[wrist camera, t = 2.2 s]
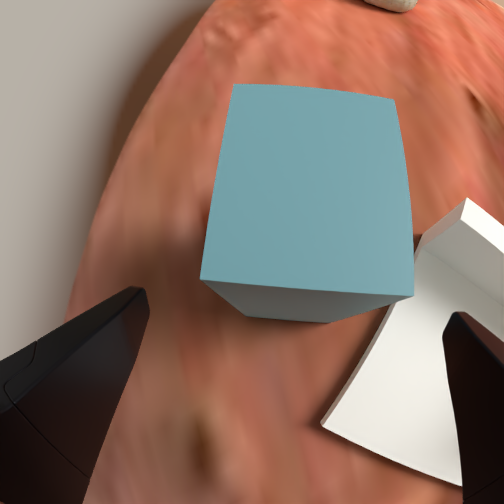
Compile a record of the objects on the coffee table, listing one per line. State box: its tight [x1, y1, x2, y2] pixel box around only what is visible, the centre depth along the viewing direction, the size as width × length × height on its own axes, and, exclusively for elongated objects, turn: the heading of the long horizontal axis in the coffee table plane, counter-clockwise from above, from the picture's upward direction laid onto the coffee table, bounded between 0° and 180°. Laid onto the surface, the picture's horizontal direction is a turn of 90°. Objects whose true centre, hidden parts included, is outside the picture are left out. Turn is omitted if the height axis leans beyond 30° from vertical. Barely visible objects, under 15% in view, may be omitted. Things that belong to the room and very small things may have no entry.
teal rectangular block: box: [200, 84, 414, 323], centre depth 13 cm, size 6×5×12 cm
